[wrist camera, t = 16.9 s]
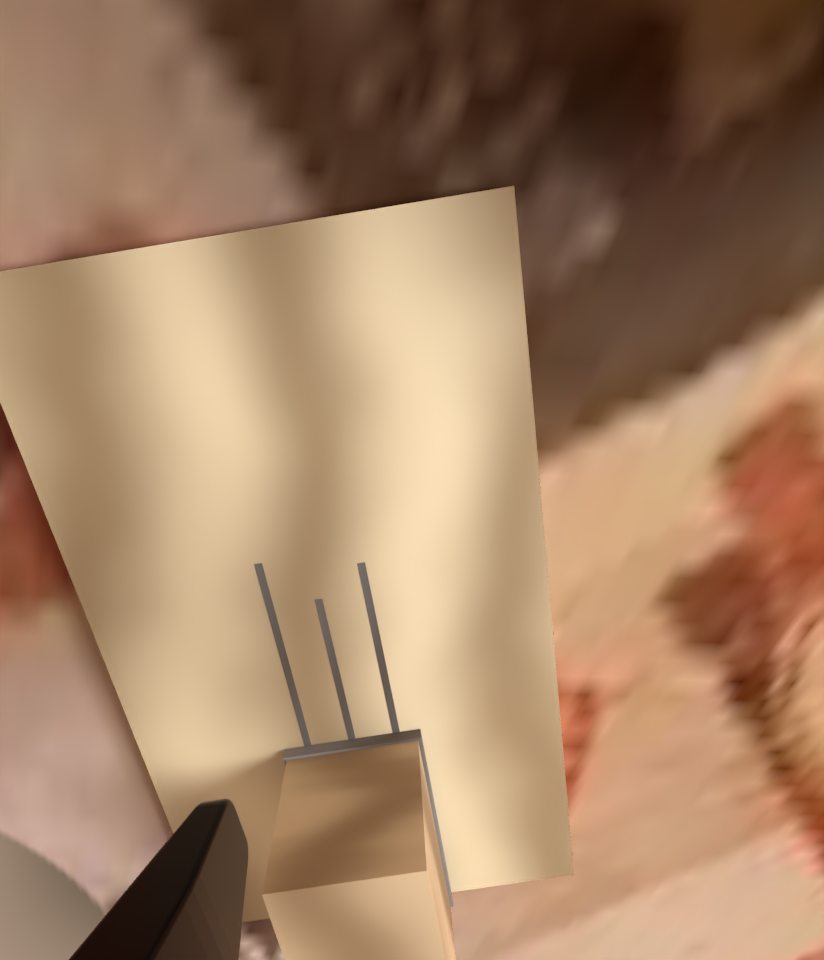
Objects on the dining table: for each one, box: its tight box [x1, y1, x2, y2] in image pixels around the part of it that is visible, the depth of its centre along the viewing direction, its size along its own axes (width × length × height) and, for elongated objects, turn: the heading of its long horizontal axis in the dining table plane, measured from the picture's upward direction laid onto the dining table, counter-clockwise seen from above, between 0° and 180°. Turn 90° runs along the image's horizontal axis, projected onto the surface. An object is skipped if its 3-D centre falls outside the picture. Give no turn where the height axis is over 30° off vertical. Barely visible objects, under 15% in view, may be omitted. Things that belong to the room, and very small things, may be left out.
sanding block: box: [262, 729, 456, 960], centre depth 21 cm, size 5×8×5 cm, turn 9°
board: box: [0, 186, 574, 922], centre depth 21 cm, size 14×24×1 cm, turn 9°
